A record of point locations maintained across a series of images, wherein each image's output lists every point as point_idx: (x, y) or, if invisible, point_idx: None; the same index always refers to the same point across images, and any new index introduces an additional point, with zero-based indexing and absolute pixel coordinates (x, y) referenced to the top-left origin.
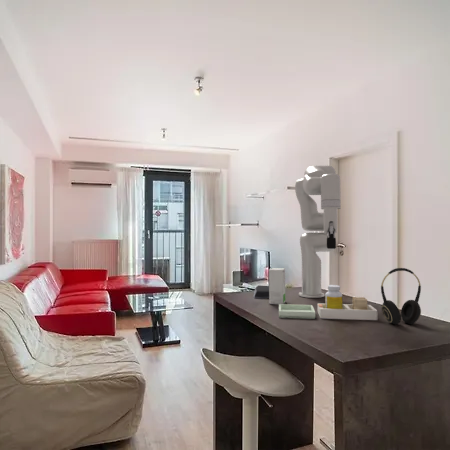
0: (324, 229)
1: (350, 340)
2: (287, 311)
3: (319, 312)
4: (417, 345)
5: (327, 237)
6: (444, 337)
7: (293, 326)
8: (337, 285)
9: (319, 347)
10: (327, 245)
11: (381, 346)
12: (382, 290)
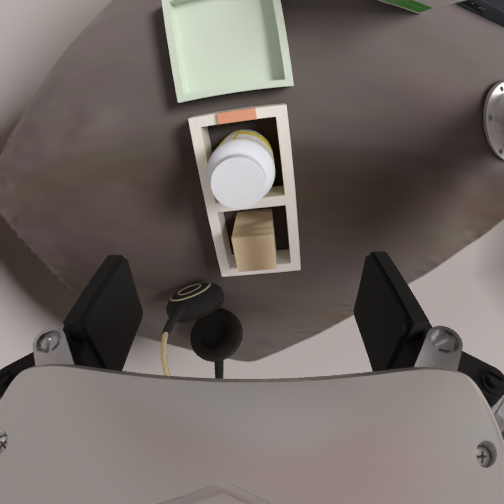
0: (2, 398)
1: (49, 197)
2: (164, 20)
3: (221, 111)
4: (81, 292)
5: (424, 338)
6: (143, 336)
7: (90, 65)
8: (254, 200)
9: (5, 153)
10: (99, 271)
11: (48, 243)
12: (165, 325)
